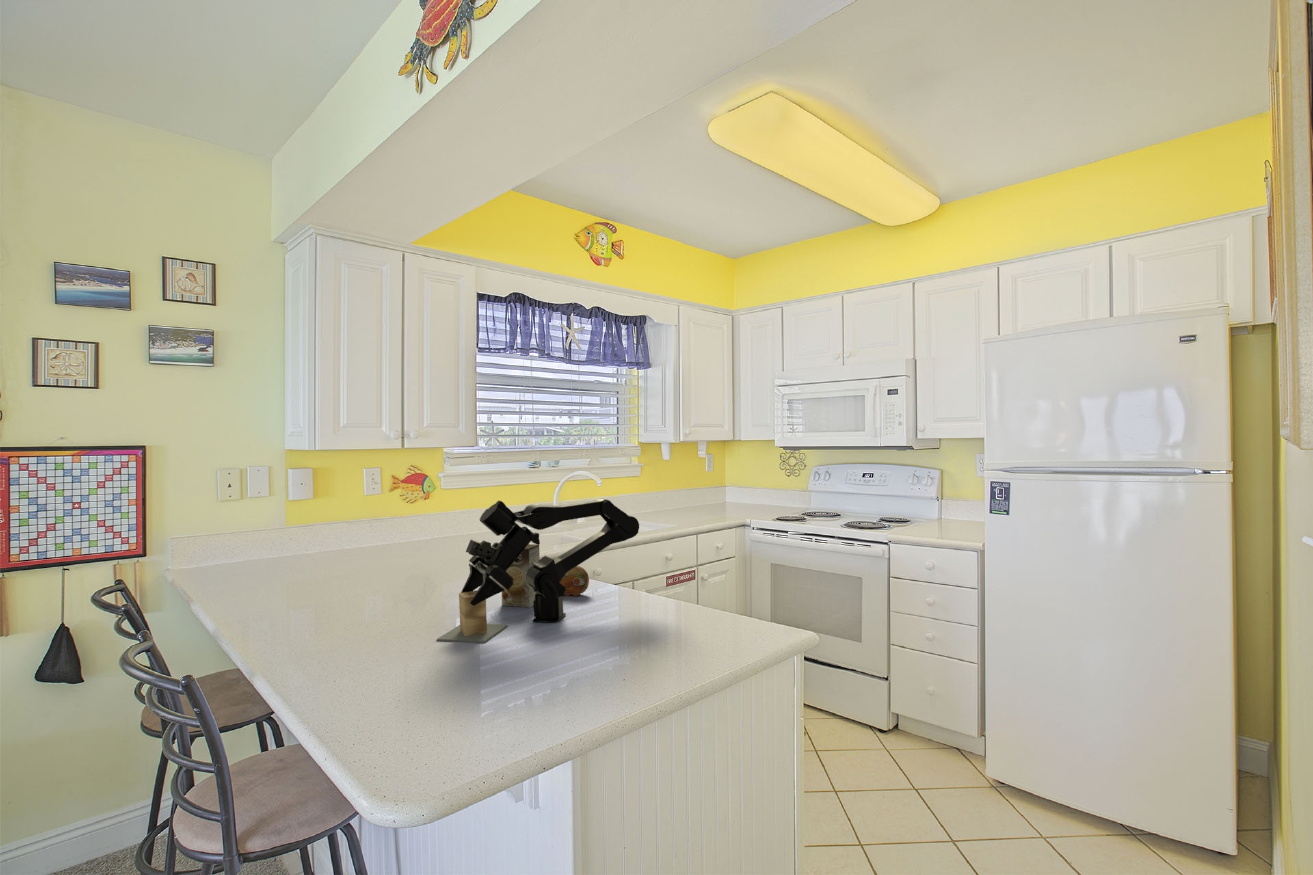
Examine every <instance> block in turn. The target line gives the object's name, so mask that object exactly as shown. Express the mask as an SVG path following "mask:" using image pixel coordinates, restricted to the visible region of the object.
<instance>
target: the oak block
mask: <svg viewBox="0 0 1313 875" xmlns="http://www.w3.org/2000/svg"><path fill="white" fill-rule="evenodd" d="M477 591H478V589H476V590H474V591H470V592H464V593H461V592H459V593H458V602H459V603H458V604H459V606H458V608H459V625H460V631H461V632H462V633H463V634H464V635H465V636H471V635H476V634H481V633H486V632H487V624H488V620H487V618H488V616H487V599H486V600H484V601H482V602H480V603H478V604H476V605H474V606H473V605H472V604H470V602H471V600H472V599H473V597H474V595H475V594H476V592H477Z"/></svg>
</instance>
